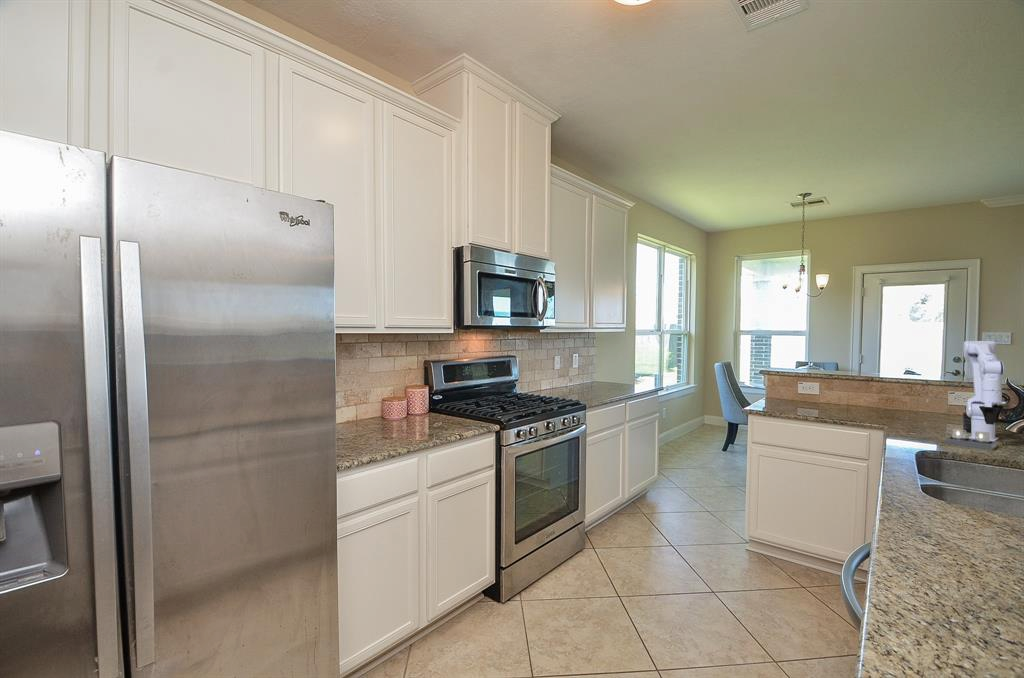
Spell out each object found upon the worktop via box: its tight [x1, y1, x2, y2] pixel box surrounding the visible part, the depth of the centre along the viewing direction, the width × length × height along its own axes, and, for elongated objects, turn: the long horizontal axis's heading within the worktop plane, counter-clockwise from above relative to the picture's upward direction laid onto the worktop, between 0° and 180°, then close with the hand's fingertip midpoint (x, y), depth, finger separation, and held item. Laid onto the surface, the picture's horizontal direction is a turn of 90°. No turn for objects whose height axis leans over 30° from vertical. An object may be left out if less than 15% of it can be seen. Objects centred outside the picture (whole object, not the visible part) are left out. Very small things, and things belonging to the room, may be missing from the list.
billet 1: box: [951, 428, 967, 441], centre depth 185 cm, size 4×4×6 cm
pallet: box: [945, 435, 997, 451], centre depth 183 cm, size 9×13×2 cm
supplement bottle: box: [962, 406, 971, 434], centre depth 212 cm, size 7×7×12 cm
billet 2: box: [975, 431, 990, 444], centre depth 180 cm, size 4×4×6 cm
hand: (991, 423), depth 183 cm, fingers open, 7 cm apart
